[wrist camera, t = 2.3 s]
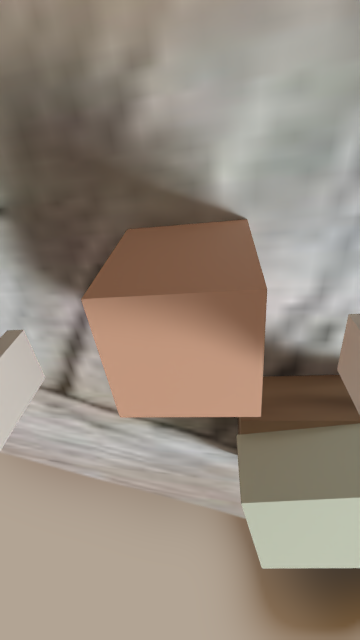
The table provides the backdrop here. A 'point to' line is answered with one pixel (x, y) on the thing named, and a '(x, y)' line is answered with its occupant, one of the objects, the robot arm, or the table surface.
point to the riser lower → (301, 404)
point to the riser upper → (302, 495)
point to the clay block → (182, 321)
